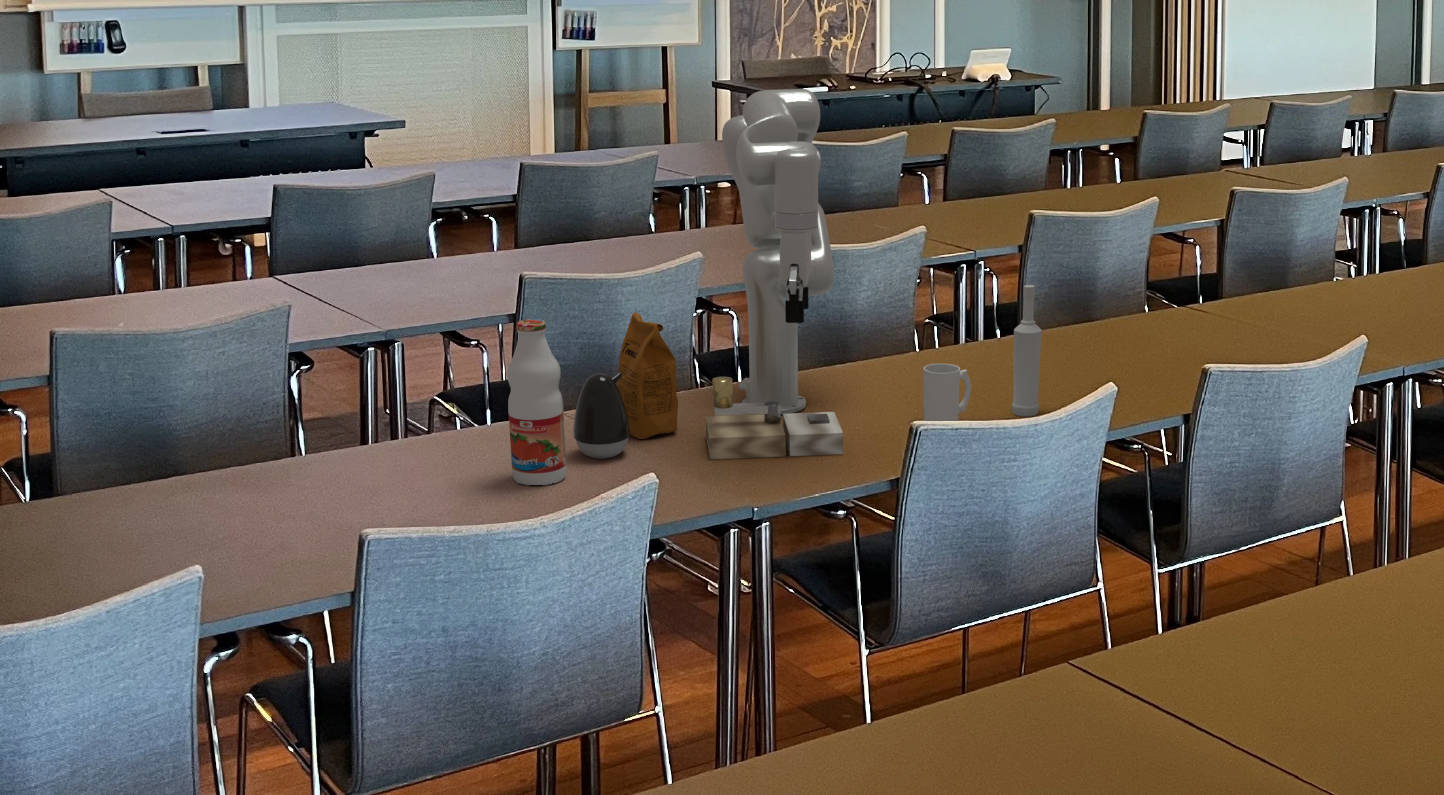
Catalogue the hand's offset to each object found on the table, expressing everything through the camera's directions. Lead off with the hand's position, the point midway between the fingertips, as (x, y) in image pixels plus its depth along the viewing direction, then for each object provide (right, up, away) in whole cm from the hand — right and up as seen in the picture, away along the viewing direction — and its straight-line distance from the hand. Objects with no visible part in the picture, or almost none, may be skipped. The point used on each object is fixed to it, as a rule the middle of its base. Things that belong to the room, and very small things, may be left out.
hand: (797, 315), depth 295 cm
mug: (+29, -21, +17) cm, 39 cm away
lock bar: (-9, -19, +9) cm, 23 cm away
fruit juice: (-45, -29, -6) cm, 54 cm away
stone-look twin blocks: (-4, -23, +9) cm, 25 cm away
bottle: (+45, -18, +25) cm, 54 cm away
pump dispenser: (-35, -25, +6) cm, 43 cm away
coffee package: (-27, -21, +20) cm, 40 cm away
